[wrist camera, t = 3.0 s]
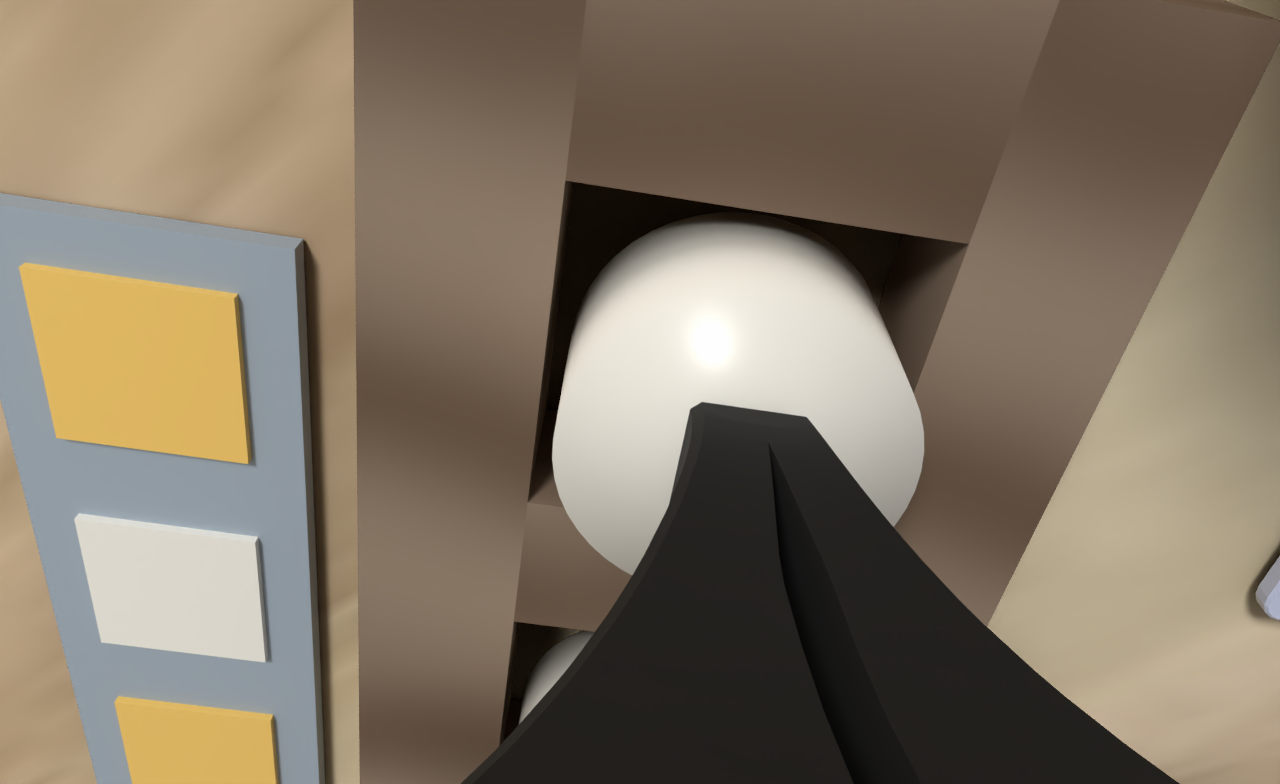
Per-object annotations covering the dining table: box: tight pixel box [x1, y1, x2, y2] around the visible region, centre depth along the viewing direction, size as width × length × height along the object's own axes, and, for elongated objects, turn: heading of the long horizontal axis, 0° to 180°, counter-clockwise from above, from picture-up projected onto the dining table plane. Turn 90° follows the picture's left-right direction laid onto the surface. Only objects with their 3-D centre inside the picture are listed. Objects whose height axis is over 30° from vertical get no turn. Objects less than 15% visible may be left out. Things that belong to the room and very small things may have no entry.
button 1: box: [552, 212, 924, 575], centre depth 12 cm, size 4×4×2 cm
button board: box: [353, 0, 1280, 784], centre depth 18 cm, size 26×10×2 cm, turn 171°
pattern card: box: [0, 193, 325, 784], centre depth 18 cm, size 15×5×1 cm, turn 171°
